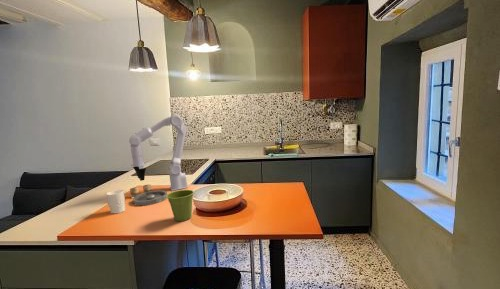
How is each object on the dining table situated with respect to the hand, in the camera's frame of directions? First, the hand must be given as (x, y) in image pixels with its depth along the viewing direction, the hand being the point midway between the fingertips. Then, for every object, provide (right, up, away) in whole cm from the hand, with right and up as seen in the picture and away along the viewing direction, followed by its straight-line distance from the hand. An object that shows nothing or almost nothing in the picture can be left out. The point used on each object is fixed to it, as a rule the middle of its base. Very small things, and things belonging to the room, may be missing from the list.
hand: (141, 179), depth 170 cm
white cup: (-3, -14, -23) cm, 27 cm away
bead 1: (-3, -10, -1) cm, 11 cm away
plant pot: (+34, -13, -41) cm, 54 cm away
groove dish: (+9, -10, -9) cm, 16 cm away
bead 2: (+3, -9, +2) cm, 10 cm away
